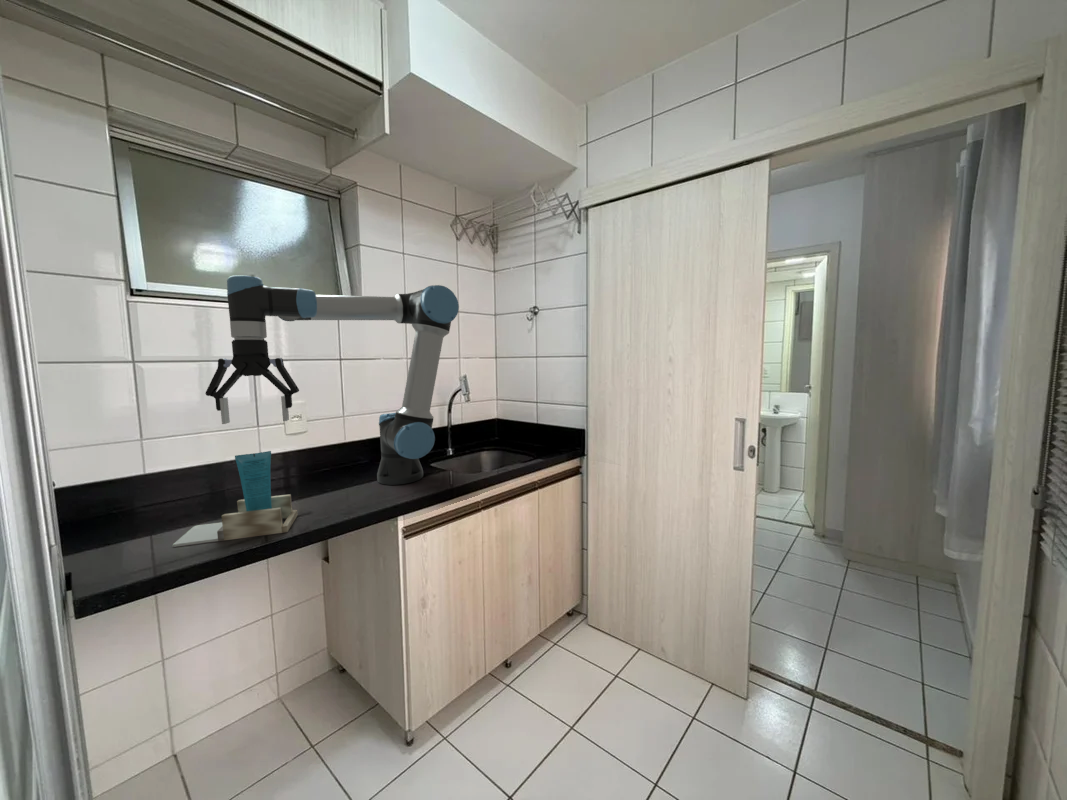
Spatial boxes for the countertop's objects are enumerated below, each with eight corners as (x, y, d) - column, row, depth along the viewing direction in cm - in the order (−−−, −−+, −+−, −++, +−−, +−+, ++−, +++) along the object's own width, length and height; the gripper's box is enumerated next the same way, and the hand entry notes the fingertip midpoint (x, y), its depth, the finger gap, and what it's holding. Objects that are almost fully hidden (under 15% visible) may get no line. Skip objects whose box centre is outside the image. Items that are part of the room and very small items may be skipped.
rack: (297, 515, 113) (295, 493, 112) (287, 531, 102) (285, 508, 102) (235, 522, 108) (233, 500, 108) (218, 541, 98) (215, 516, 97)
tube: (275, 520, 110) (268, 448, 107) (280, 525, 106) (273, 452, 104) (241, 529, 104) (233, 454, 102) (245, 535, 101) (236, 457, 99)
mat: (236, 522, 108) (236, 520, 108) (219, 540, 98) (219, 538, 98) (195, 527, 106) (194, 525, 106) (172, 547, 95) (172, 544, 95)
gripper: (307, 339, 113) (312, 417, 115) (198, 339, 106) (206, 422, 108) (300, 338, 106) (306, 421, 108) (183, 338, 99) (192, 427, 101)
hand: (256, 421), depth 108 cm, fingers open, 13 cm apart
